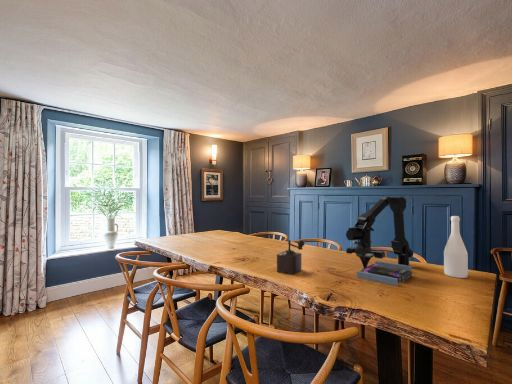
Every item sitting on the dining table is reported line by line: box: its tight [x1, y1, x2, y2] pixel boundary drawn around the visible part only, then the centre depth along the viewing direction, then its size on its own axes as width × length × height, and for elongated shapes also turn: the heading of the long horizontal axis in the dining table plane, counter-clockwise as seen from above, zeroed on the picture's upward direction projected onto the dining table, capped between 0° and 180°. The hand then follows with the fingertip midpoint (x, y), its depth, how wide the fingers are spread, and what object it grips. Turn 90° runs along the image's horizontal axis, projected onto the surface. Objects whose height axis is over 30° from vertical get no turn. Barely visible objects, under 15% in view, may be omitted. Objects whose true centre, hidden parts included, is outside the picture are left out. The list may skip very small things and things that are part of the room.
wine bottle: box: [443, 215, 469, 279], centre depth 132 cm, size 10×10×30 cm
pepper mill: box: [276, 239, 305, 275], centre depth 139 cm, size 16×11×18 cm
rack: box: [356, 260, 413, 287], centre depth 134 cm, size 28×18×3 cm, turn 138°
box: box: [361, 263, 413, 284], centre depth 133 cm, size 14×4×20 cm
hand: (365, 268), depth 141 cm, fingers closed
